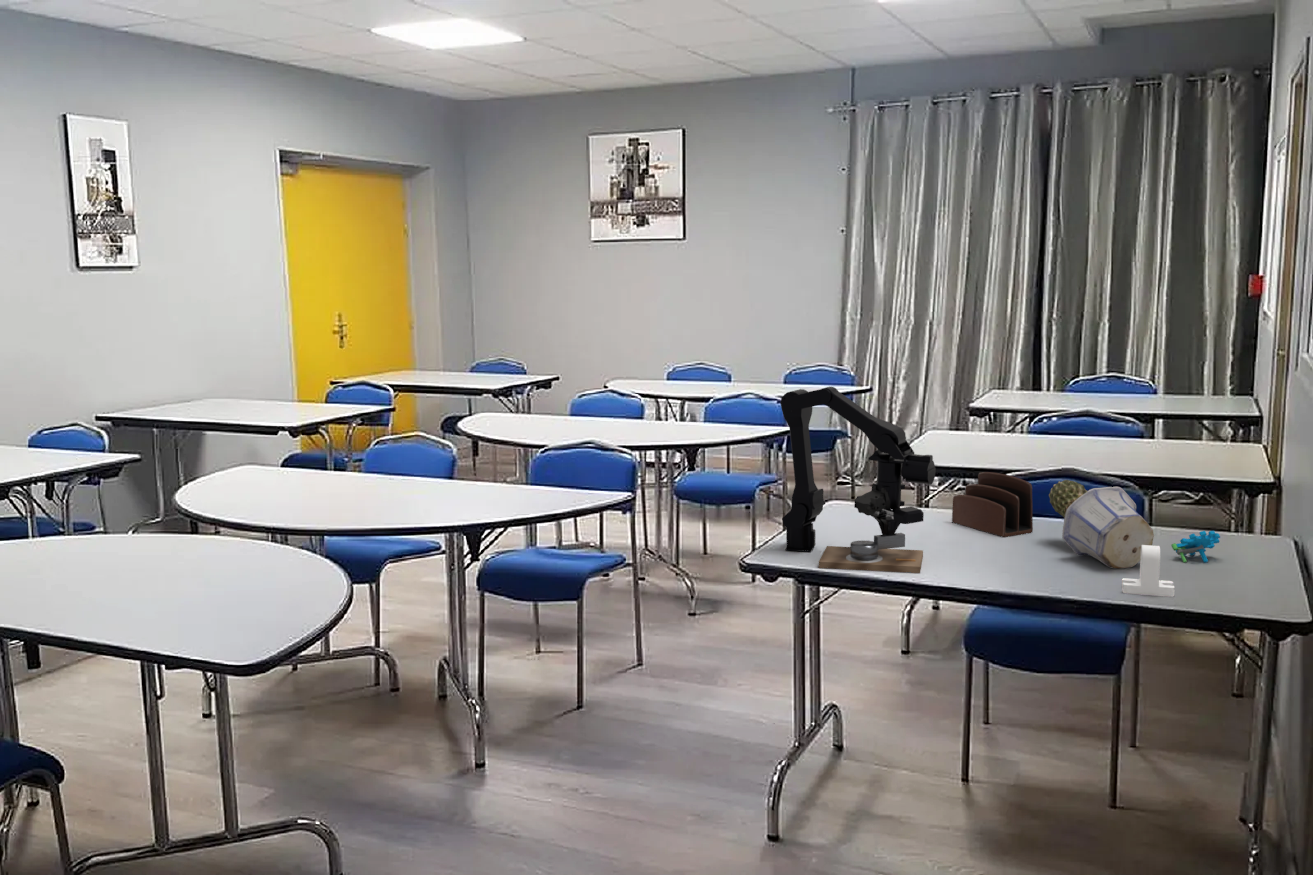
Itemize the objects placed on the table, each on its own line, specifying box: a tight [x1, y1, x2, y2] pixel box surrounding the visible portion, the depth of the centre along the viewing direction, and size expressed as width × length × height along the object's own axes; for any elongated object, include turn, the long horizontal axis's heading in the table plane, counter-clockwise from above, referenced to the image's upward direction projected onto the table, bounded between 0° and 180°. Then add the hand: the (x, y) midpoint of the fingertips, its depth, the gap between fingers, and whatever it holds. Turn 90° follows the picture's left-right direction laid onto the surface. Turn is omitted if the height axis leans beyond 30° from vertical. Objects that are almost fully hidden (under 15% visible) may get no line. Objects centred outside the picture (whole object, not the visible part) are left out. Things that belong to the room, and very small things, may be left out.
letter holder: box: [951, 471, 1034, 538], centre depth 290 cm, size 10×20×14 cm, turn 26°
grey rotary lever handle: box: [849, 532, 906, 560], centre depth 258 cm, size 13×6×4 cm, turn 107°
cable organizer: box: [1121, 544, 1176, 598], centre depth 231 cm, size 5×10×10 cm, turn 70°
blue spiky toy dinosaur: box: [1170, 530, 1221, 564], centre depth 254 cm, size 11×6×10 cm
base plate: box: [818, 545, 924, 574], centre depth 260 cm, size 23×15×2 cm, turn 74°
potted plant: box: [1048, 479, 1155, 570], centre depth 261 cm, size 18×18×30 cm
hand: (887, 543), depth 262 cm, fingers closed
